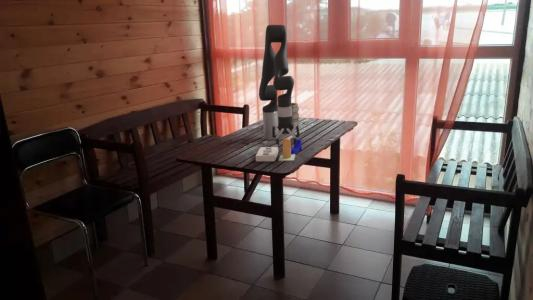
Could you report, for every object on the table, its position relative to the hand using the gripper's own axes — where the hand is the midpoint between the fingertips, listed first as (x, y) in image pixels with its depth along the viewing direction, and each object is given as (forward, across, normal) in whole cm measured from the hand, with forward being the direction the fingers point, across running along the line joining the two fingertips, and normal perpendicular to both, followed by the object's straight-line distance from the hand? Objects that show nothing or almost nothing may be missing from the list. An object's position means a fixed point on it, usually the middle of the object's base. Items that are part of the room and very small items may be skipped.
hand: (286, 144), depth 233 cm
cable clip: (+7, -3, -10) cm, 13 cm away
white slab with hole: (+7, +11, -3) cm, 14 cm away
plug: (+7, 0, 0) cm, 7 cm away
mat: (+7, 0, 0) cm, 7 cm away
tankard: (+8, +9, -80) cm, 81 cm away
